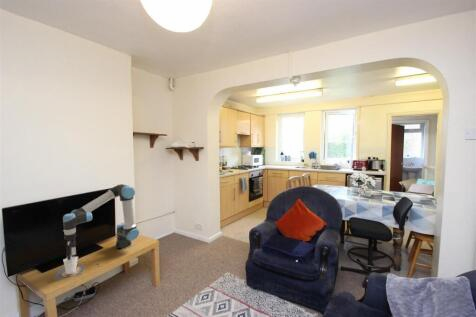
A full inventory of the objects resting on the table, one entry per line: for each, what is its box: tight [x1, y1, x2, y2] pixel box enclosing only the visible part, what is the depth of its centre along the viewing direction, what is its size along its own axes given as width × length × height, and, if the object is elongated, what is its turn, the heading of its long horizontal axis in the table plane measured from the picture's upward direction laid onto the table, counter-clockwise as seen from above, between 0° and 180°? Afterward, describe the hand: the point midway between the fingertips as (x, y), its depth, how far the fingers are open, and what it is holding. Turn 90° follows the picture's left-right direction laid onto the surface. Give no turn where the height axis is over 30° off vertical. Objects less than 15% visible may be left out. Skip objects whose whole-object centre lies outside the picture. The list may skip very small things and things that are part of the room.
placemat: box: [53, 264, 86, 281], centre depth 181 cm, size 18×16×1 cm
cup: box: [62, 255, 79, 274], centre depth 178 cm, size 10×10×11 cm
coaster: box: [61, 267, 81, 278], centre depth 180 cm, size 13×13×1 cm
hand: (71, 258), depth 180 cm, fingers open, 13 cm apart
